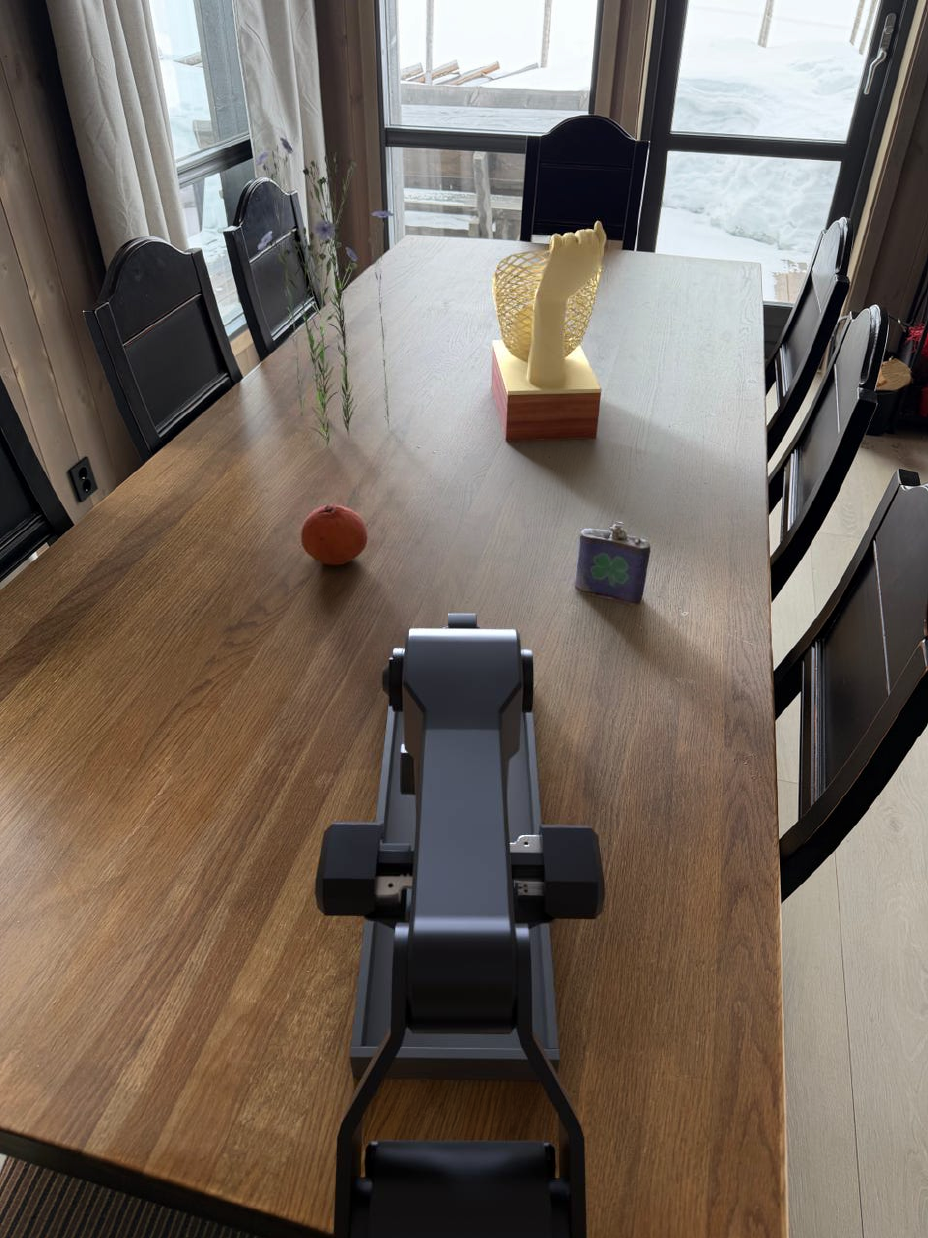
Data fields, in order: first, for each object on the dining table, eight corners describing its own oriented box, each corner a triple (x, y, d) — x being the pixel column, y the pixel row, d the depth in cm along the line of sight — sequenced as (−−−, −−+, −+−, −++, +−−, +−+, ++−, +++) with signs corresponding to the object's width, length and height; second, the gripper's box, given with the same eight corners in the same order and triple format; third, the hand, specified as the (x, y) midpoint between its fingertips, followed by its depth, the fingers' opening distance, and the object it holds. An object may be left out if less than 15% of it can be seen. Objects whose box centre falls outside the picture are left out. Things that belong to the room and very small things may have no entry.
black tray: (556, 1081, 66) (560, 1060, 64) (352, 1079, 66) (349, 1057, 64) (527, 679, 102) (529, 656, 100) (395, 677, 102) (393, 655, 100)
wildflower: (423, 439, 150) (417, 148, 122) (300, 470, 141) (263, 164, 113) (368, 392, 165) (352, 124, 137) (253, 418, 156) (210, 136, 128)
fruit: (291, 565, 120) (284, 516, 115) (327, 535, 126) (322, 486, 121) (345, 583, 116) (340, 533, 112) (379, 550, 123) (376, 502, 118)
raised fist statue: (600, 442, 150) (625, 227, 128) (497, 445, 148) (505, 228, 127) (574, 384, 169) (592, 189, 147) (483, 386, 168) (487, 190, 146)
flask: (571, 591, 116) (579, 522, 109) (577, 579, 118) (585, 511, 111) (639, 607, 113) (651, 538, 106) (644, 595, 115) (656, 526, 108)
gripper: (597, 708, 60) (577, 848, 69) (328, 704, 60) (345, 845, 69) (618, 839, 51) (592, 979, 61) (302, 835, 51) (326, 976, 61)
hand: (459, 938), depth 63 cm, fingers closed on pill bottle, 6 cm apart
